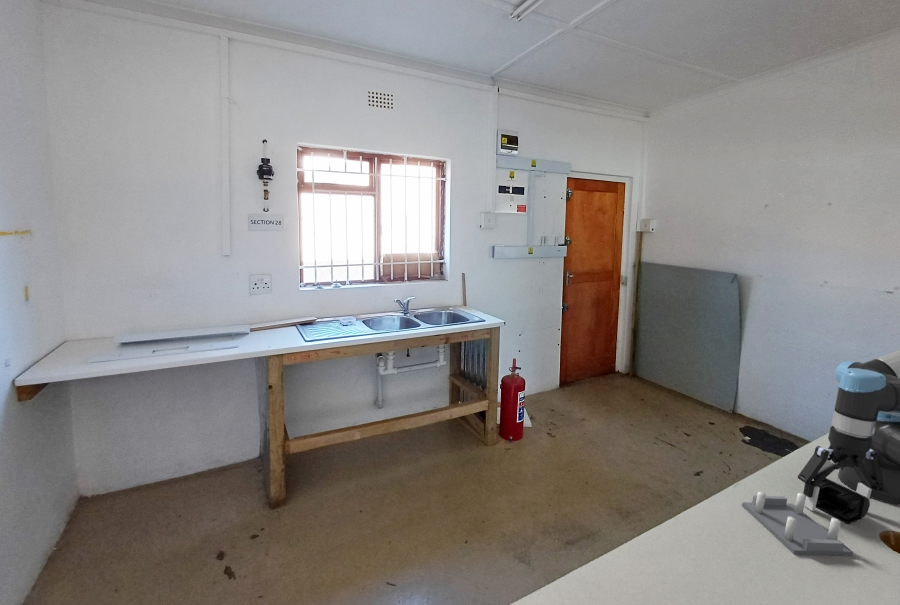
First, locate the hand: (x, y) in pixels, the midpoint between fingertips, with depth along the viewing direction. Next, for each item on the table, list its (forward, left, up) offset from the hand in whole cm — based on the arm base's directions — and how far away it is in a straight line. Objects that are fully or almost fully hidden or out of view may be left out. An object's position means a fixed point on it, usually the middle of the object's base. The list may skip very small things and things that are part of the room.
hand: (834, 508), depth 105 cm
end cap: (0, 0, -1) cm, 1 cm away
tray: (+17, +8, 0) cm, 19 cm away
